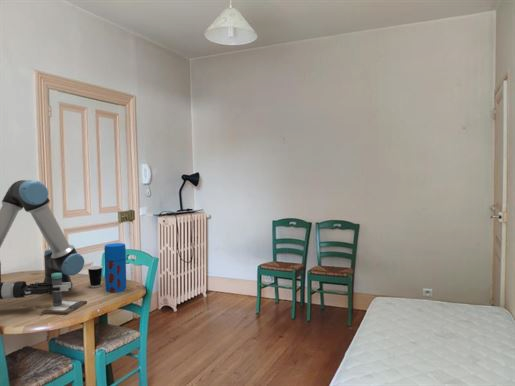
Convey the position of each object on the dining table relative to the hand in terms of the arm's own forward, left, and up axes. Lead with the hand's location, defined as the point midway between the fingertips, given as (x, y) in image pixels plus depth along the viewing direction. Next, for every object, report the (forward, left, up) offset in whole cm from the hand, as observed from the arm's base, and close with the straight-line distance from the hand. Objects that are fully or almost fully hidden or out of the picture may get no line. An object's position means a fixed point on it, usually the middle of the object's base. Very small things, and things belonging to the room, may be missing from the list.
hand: (69, 286), depth 183 cm
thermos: (-29, +8, -10) cm, 32 cm away
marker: (+2, -5, -8) cm, 10 cm away
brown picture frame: (+2, -1, -10) cm, 10 cm away
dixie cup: (-34, -7, -10) cm, 36 cm away
